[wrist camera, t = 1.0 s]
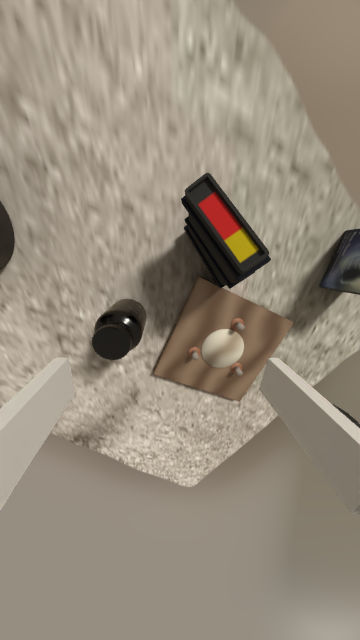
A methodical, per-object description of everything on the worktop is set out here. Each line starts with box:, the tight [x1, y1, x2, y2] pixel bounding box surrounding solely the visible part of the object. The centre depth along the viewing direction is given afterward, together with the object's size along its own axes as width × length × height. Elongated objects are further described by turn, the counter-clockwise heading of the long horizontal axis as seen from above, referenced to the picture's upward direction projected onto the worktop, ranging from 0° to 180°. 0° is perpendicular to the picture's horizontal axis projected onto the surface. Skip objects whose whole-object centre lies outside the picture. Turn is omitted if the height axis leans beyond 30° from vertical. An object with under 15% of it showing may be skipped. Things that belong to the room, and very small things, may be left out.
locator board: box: [154, 277, 294, 402], centre depth 34 cm, size 22×22×4 cm
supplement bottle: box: [92, 299, 147, 360], centre depth 27 cm, size 7×7×12 cm
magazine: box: [181, 173, 271, 288], centre depth 24 cm, size 4×13×15 cm, turn 34°
